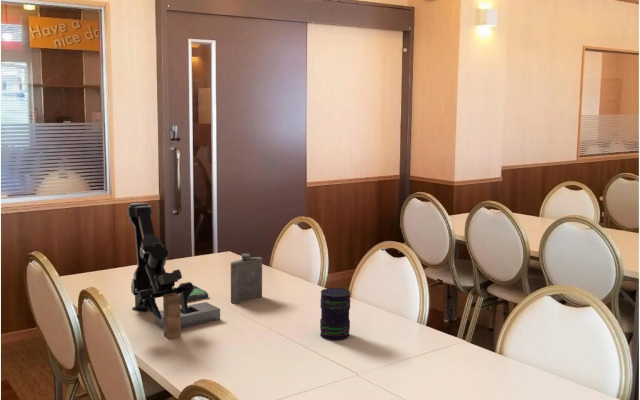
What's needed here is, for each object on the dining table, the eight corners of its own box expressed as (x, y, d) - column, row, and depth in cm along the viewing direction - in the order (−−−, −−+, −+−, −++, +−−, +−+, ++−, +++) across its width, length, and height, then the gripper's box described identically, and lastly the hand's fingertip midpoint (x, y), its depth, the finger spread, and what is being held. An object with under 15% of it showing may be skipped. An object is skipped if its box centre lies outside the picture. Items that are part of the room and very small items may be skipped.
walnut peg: (164, 336, 221) (163, 294, 219) (175, 333, 223) (174, 292, 221) (169, 339, 218) (168, 297, 216) (180, 336, 220) (180, 295, 218)
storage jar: (353, 332, 226) (354, 289, 224) (344, 342, 217) (345, 297, 215) (325, 329, 230) (326, 286, 227) (315, 338, 220) (316, 294, 218)
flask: (228, 302, 258) (227, 256, 256) (257, 295, 268) (257, 250, 265) (233, 304, 256) (233, 257, 253) (263, 297, 265) (263, 252, 263)
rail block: (154, 323, 233) (154, 312, 232) (206, 312, 245) (205, 301, 245) (168, 331, 225) (167, 319, 225) (220, 319, 238) (220, 308, 237)
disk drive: (168, 294, 269) (185, 303, 257) (167, 287, 269) (184, 296, 257) (191, 290, 275) (209, 298, 264) (191, 283, 275) (209, 291, 263)
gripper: (138, 266, 214) (154, 308, 207) (190, 258, 226) (207, 298, 219) (128, 285, 221) (143, 326, 215) (180, 276, 233) (196, 315, 226)
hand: (173, 315), depth 218 cm, fingers open, 9 cm apart
